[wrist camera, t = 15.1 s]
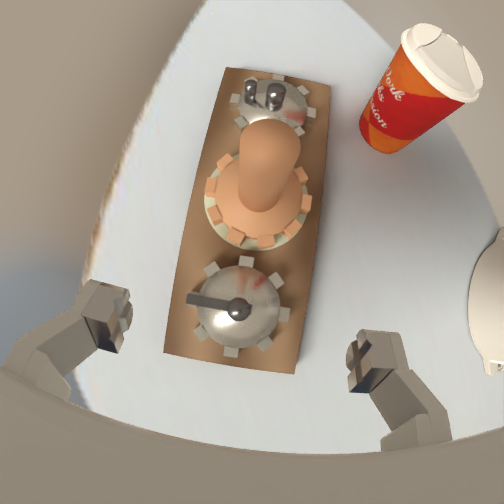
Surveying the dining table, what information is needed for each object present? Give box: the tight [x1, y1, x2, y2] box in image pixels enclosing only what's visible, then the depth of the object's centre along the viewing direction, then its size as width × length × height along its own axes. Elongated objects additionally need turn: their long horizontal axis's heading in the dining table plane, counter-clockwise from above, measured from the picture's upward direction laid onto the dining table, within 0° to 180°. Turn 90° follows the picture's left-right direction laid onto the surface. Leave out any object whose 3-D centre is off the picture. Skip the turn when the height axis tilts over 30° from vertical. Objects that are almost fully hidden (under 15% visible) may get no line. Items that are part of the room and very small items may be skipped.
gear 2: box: [186, 255, 290, 358], centre depth 22 cm, size 8×8×4 cm
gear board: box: [163, 67, 330, 374], centre depth 26 cm, size 11×28×2 cm, turn 170°
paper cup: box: [359, 23, 483, 153], centre depth 21 cm, size 8×8×14 cm
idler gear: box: [204, 118, 312, 249], centre depth 20 cm, size 8×8×10 cm
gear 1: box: [230, 74, 316, 140], centre depth 24 cm, size 8×8×4 cm
